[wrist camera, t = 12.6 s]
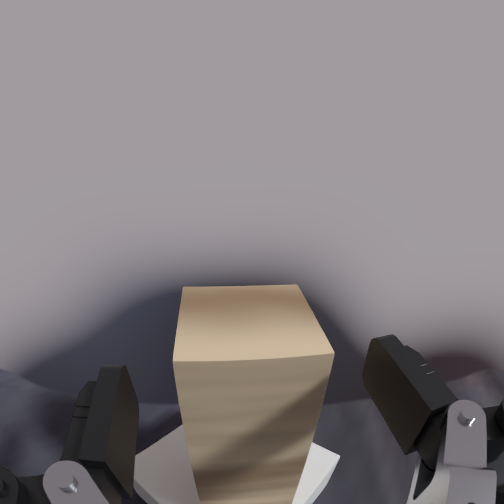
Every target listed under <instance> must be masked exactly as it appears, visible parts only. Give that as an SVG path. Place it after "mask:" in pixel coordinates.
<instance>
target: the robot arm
mask: <svg viewBox="0 0 504 504" xmlns="http://www.w3.org/2000/svg"><path fill="white" fill-rule="evenodd" d="M362 378H363V383H364V386H365V388H366V390H367V391H368V393H369V395H370V396H371V398H372V400H373V401H374V403H375V405H376V406H377V408H378V410H379V411H380V413H381V415H382V416H383V418H384V420H385V421H386V423H387V425H388V427H389V428H390V430H391V432H392V433H393V435H394V437H395V438H396V440H397V442H398V444H399V445H400V447H401V449H402V450H403V452H404V454H405V455H407V454H409V453H412V452H414V451H418V453H419V457H418V459H417V462H416V467H415V472H414V477H413V481H412V485H411V490H410V494H409V498H408V501H407V504H504V399H503V401H502V402H501V404H500V405H499V406H494V407H488V408H481V407H480V406H479V405H478V404H476V403H474V402H472V401H469V400H458V399H457V398H456V397H455V395H454V394H453V393H452V392H451V390H450V389H449V388H448V387H447V386H446V384H445V383H444V382H443V381H442V380H441V378H440V377H439V376H438V375H437V374H436V372H434V370H433V369H432V368H431V366H430V365H429V364H428V365H427V362H426V361H425V359H424V358H423V357H422V356H421V355H420V354H419V353H418V352H417V351H415V350H413V349H412V348H410V347H408V346H403V345H402V343H401V342H400V341H399V340H398V338H397V337H396V336H394V335H387V336H382V337H378V338H374V339H372V340H371V342H370V345H369V349H368V353H367V356H366V361H365V364H364V368H363V373H362ZM75 406H76V408H74V411H73V415H72V417H73V418H72V419H71V422H70V426H69V429H68V433H67V437H66V441H65V445H64V449H63V453H62V457H61V460H60V461H59V462H57V463H54V464H53V465H51V466H50V467H49V468H48V469H47V471H46V472H45V474H44V475H39V476H31V477H21V478H17V477H16V476H15V475H14V474H13V473H12V472H10V471H9V470H7V469H5V468H0V504H121V502H122V498H124V499H133V484H134V467H135V453H136V441H137V430H138V420H139V405H138V399H137V396H136V393H135V390H134V387H133V385H132V382H131V379H130V376H129V373H128V370H127V367H126V366H125V365H112V366H111V365H109V366H108V365H104V366H102V367H101V369H100V372H99V375H98V379H97V381H88V382H87V384H86V385H85V386H84V387H83V388H82V390H81V391H80V392H79V394H78V398H77V401H76V404H75Z"/></svg>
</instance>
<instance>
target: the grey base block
mask: <svg viewBox="0 0 504 504" xmlns="http://www.w3.org/2000/svg"><path fill="white" fill-rule="evenodd" d="M339 458H340V456H339V455H337V454H335V453H333V452H331V451H329V450H327V449H325V448H322V447H320V446H318V445H316V444H314V443H311V447H310V450H309V453H308V457H307V460H306V463H305V466H304V469H303V472H302V475H301V478H300V481H299V484H298V487H297V490H296V493H295V496H294V499H293V502H292V504H312V503H313V502H314V500H315V499H316V498H317V497H318V495H319V494H320V493H321V491H322V490H323V489H324V488H325V486H326V485H327V483H328V481H329V479H330V477H331V475H332V473H333V471H334V469H335V467H336V464H337V462H338V460H339ZM133 487H134V489H135V491H136V492H137V494H138V495H139V496H140V497H141V498H142V499H143V500H144V501H145V502H146V503H147V504H200V501H199V497H198V493H197V489H196V484H195V480H194V476H193V471H192V467H191V462H190V458H189V453H188V448H187V443H186V438H185V433H184V428H183V424H182V425H181V426H179V427H178V428H176V429H175V430H174V431H172V432H171V433H169V434H168V435H166V436H165V437H163V438H162V439H160V440H159V441H157V442H156V443H154V444H153V445H151V446H150V447H148V448H147V449H145V450H144V451H142V452H141V453H139V454H137V455H136V456H135V467H134V484H133Z"/></svg>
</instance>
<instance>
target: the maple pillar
mask: <svg viewBox="0 0 504 504" xmlns="http://www.w3.org/2000/svg"><path fill="white" fill-rule="evenodd" d="M334 354H335V353H334V351H333V349H332V347H331V345H330V343H329V342H328V340H327V338H326V336H325V334H324V332H323V330H322V329H321V327H320V325H319V323H318V321H317V319H316V318H315V316H314V314H313V312H312V310H311V309H310V307H309V305H308V303H307V301H306V299H305V298H304V296H303V294H302V292H301V290H300V289H299V287H298V285H267V286H223V287H222V286H220V287H183V292H182V298H181V305H180V312H179V319H178V326H177V332H176V339H175V347H174V355H173V367H174V374H175V380H176V387H177V393H178V400H179V405H180V411H181V417H182V422H183V428H184V433H185V438H186V443H187V448H188V453H189V458H190V462H191V467H192V471H193V476H194V480H195V484H196V489H197V493H198V497H199V501H200V504H292V502H293V499H294V496H295V493H296V490H297V487H298V484H299V481H300V478H301V475H302V472H303V469H304V466H305V463H306V460H307V457H308V453H309V450H310V447H311V443H312V440H313V437H314V433H315V430H316V426H317V422H318V419H319V415H320V411H321V408H322V404H323V400H324V396H325V392H326V388H327V384H328V380H329V376H330V371H331V367H332V363H333V358H334Z"/></svg>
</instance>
